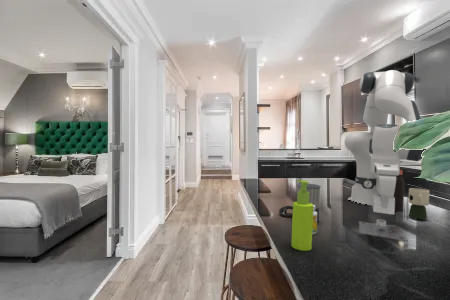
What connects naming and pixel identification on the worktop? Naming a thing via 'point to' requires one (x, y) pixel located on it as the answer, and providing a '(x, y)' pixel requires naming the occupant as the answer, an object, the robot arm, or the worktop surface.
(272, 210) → the worktop surface
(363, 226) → the plate
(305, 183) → the soap dispenser
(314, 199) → the milk frother
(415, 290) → the worktop surface
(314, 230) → the supplement bottle
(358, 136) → the robot arm
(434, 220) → the worktop surface
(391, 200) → the chalk-like cube
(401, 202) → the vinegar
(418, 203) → the character mug
